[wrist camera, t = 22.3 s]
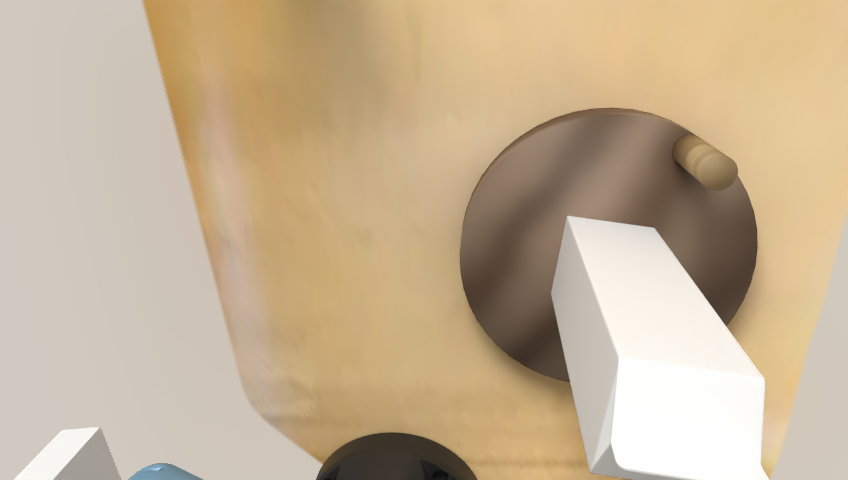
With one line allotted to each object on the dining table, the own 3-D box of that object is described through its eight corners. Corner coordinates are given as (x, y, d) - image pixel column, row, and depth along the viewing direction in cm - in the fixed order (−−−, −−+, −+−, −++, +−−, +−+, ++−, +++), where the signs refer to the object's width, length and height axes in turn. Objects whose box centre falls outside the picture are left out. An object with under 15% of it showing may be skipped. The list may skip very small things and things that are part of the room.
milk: (566, 214, 44) (633, 397, 24) (656, 227, 44) (803, 423, 24) (549, 295, 47) (598, 528, 26) (635, 308, 46) (753, 553, 26)
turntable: (412, 284, 50) (397, 340, 42) (561, 50, 43) (579, 63, 35) (629, 408, 52) (655, 483, 44) (804, 203, 45) (874, 248, 37)
